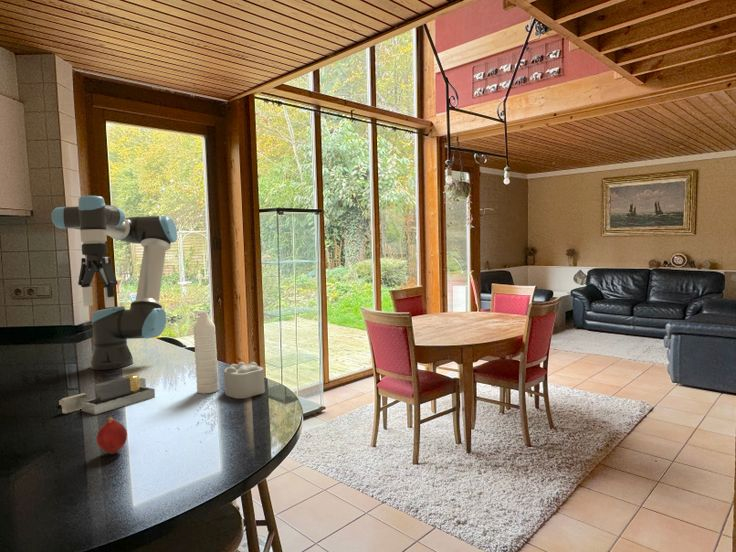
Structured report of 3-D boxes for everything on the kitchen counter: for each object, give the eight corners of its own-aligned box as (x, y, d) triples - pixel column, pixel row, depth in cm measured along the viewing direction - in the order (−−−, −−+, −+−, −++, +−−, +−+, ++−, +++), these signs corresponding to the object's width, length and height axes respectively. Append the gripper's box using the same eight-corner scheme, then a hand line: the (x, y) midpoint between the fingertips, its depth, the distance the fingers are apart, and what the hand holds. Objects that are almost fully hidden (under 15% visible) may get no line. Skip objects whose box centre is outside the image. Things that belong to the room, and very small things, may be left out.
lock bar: (103, 410, 135) (100, 386, 135) (95, 408, 138) (93, 384, 137) (143, 398, 145) (141, 375, 145) (135, 396, 148) (133, 374, 147)
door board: (128, 387, 160) (127, 375, 159) (162, 394, 149) (161, 381, 149) (48, 408, 140) (47, 394, 139) (81, 418, 129) (80, 404, 129)
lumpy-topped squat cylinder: (238, 400, 140) (236, 370, 140) (217, 392, 150) (215, 364, 149) (269, 391, 148) (267, 363, 147) (247, 384, 157) (246, 358, 157)
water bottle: (221, 391, 150) (217, 311, 149) (200, 395, 147) (195, 313, 145) (213, 385, 157) (209, 309, 156) (192, 389, 154) (188, 311, 153)
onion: (105, 449, 108) (103, 413, 107) (132, 447, 108) (130, 412, 108) (92, 460, 102) (90, 423, 101) (121, 458, 102) (118, 421, 102)
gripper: (126, 241, 157) (130, 306, 158) (86, 244, 170) (91, 304, 172) (103, 241, 150) (107, 309, 152) (63, 244, 164) (68, 306, 165)
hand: (98, 306), depth 162 cm, fingers open, 13 cm apart
